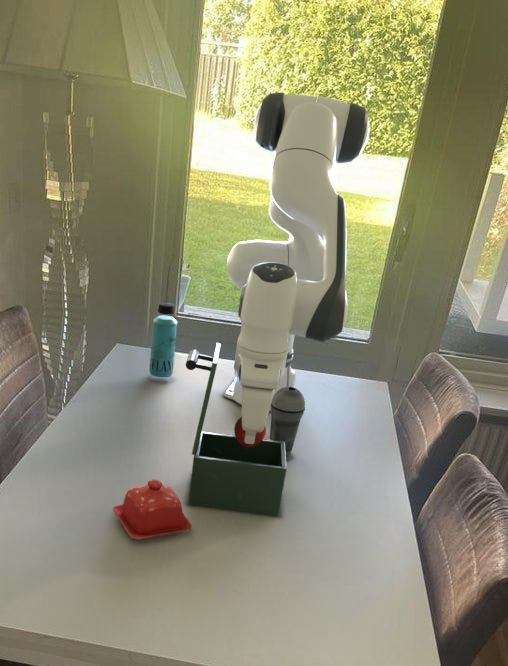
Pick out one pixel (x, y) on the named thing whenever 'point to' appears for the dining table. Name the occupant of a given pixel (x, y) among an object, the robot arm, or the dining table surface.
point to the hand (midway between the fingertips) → (249, 434)
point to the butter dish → (152, 511)
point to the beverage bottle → (163, 342)
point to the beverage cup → (286, 415)
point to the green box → (238, 474)
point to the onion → (240, 434)
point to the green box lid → (192, 365)
